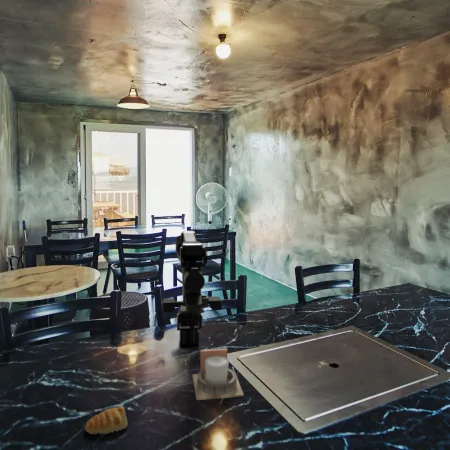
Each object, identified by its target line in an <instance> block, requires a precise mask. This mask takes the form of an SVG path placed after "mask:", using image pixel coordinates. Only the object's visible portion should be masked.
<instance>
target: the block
mask: <svg viewBox="0 0 450 450" xmlns="http://www.w3.org/2000/svg"><path fill="white" fill-rule="evenodd" d="M212 356H222V357H225V358H227V359H228V348H210V349H209V348H208V349H200V371H201V370H203V371H204V374H206V368H205V360H206V359H207V358H209V357H212Z"/></svg>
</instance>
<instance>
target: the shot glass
mask: <svg viewBox="0 0 450 450" xmlns="http://www.w3.org/2000/svg"><path fill="white" fill-rule="evenodd" d="M229 364H230V361H229V359H228V357H227V358H225V357H222V356H212V357H209V358H207V359H206V360H205V368H206V380H207V383H211V384H224V383H227V374H228V368H229Z"/></svg>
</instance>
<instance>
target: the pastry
mask: <svg viewBox="0 0 450 450" xmlns="http://www.w3.org/2000/svg"><path fill="white" fill-rule="evenodd" d="M128 425H129V424H128V419H127V415H126V410H125V408H124V407H123V406H122V405H119V406H118V407H114V408H112V407H111V408H106V409H104V410H103V411H102V412H101V413H98V414H95V415H94V416H93V417H91V418H90V419H88V420H87V422H86V424H85V431H86V433H88V434H90V435H107V434H111V433H114V431H116V432H118V431H119V430H120V431H122V429H123V430H125V429H126V428H127V427H128ZM120 431H119V432H120ZM110 432H111V433H110ZM97 433H99V434H97Z"/></svg>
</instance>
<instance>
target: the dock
mask: <svg viewBox="0 0 450 450" xmlns="http://www.w3.org/2000/svg"><path fill="white" fill-rule="evenodd" d="M191 377H192V381H193V388H194V393H195V400H196V401H204V400H205V401H206V400H216V399H229V398H241V397H244V396H245V395H244V391H243V390H242V386H241V385H240V381H239V378H238V376H237V374H236V371H234V370H233V369H231V368H229V367H228V374H227V383H224V384H211V383H207V380H206V374H204V371H203V370H201V369H200V371H199V372H198V373H195V374H194V373H193V374H192V375H191Z"/></svg>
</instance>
